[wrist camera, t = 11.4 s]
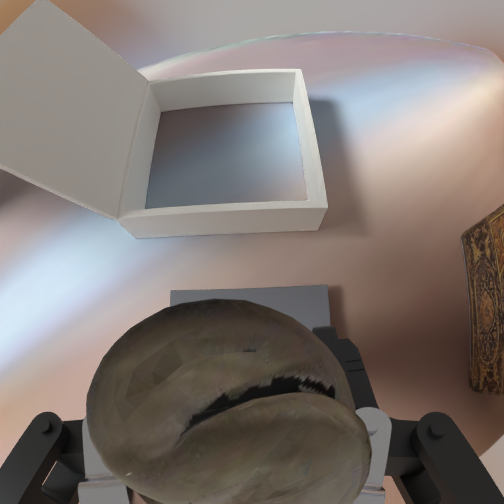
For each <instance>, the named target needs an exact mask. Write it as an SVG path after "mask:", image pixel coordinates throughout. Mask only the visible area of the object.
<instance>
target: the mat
mask: <svg viewBox="0 0 504 504" xmlns="http://www.w3.org/2000/svg"><path fill="white" fill-rule="evenodd" d="M214 298H216V299H235V300H247V301H250V302H253V303H256V304H260V305H263V306H266V307H270V308H272V309H274V310H277V311H279V312H281V313H284V314H286V315H289V316H291V317H293V318H294V319H296V320H297V321H298V322H300V323H301V324H302V325H304V326H305V327H306V328H308V329H309V330H311V331H312V329H313V327H323V326H331V325H330V310H329V297H328V285H313V286H294V287H273V288H248V289H217V290H171V296H170V307H171V306H174V305H177V304H181V303H186V302H193V301H200V300H207V299H214Z"/></svg>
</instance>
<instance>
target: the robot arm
mask: <svg viewBox="0 0 504 504" xmlns="http://www.w3.org/2000/svg"><path fill="white" fill-rule="evenodd" d="M312 332H313V333H314V334H315V335H316V336H317V337H318V338H319V339H320V340H321V341H322V342H323V343H324V344H325V345H326V346H327V347H328V348H329V349H330V351H331V352H332V353H333V354H334V356H335V357H336V359H337V360H338V362H339V363H340V365H341V367H342V369H343V370H344V372H345V375H346V378H347V381H348V384H349V388H350V391H351V394H352V397H353V401H354V404H355V407H356V414H357V415H358V416H359V417H360V418H361V419H362V420H363V422H364V423H365V425H366V428H367V431H368V434H369V437H370V442H371V447H372V459H371V465H370V472H369V476H368V478H367V480H366V482H365V485H364V487H363V489H362V491H361V492H360V494H359V496H358V498H357V499H356V500H355V501H354V502H353V503H352V504H384V502H385V489H384V488H383V479H384V475H386V476H392V478H393V480H394V482H395V484H396V486H397V488H398V490H399V491H400V493H401V495H402V497H403V499H404V501H405V503H406V504H504V497H503V495H502V494H501V492H500V490H499V489H498V487H497V486H496V484H495V482H494V481H493V479H492V478H491V476H490V475H489V473H488V471H487V470H486V468H485V467H484V465H483V464H482V462H481V461H480V459H479V458H478V456H477V455H476V453H475V452H474V450H473V449H472V447H471V446H470V444H469V443H468V441H467V440H466V438H465V437H464V435H463V434H462V433H461V431H460V430H459V428H458V427H457V425H456V424H455V423H454V421H453V420H452V419H451V418H450V417H449V416H448V415H446V414H444V413H441V412H431V413H428V414H426V415H424V416H423V417H422V418H421V419H420V421H407V420H396V419H393V418H390V417H388V416H387V414H386V413H384V412H383V411H381V410H380V409H379V407H378V405H377V403H376V400H375V397H374V394H373V391H372V388H371V385H370V382H369V379H368V376H367V373H366V371H365V368H364V365H363V362H362V361H361V360H362V359H361V356H360V353H359V351H358V348H357V347H356V346H355V345H354V344H353V343H352V342H351V341H350V340H349V339H338V336H337V333H336V330H335V327H334V326H323V327H313V329H312ZM56 461H57V463H56V464H55V462H56ZM54 464H55V466H54V468H53V469H52V467H53V465H54ZM51 469H52V471H51V473H50V474H49V472H50V470H51ZM48 474H49V476H48V478H47V479H46V477H47V475H48ZM45 479H46V481H45V483H44V484H43V482H44V480H45ZM42 484H43V485H42ZM78 503H80V504H147V503H146V502H145V501H144V500H143V499H142V498H141V497H140V496H139V494H138V493H137V492H136V491H134V490H133V489H131V488H129V487H128V486H126V485H125V484H123V483H121V482H120V481H118V480H117V479H116V478H115V477H114V476H113V474H112V473H111V472H110V471H109V470H108V469H107V468H106V467H105V466H104V464H103V462H102V461H101V459H100V457H99V455H98V453H97V451H96V449H95V447H94V445H93V443H92V441H91V439H90V435H89V430H88V426H87V415H86V417H85V418H84V419H82V420H73V421H62V420H61V419H60V418H59V417H58V415H56V414H55V413H52V412H43V413H41V414H39V415H37V416H36V417H35V418H34V419H33V420H32V422H31V423H30V425H29V426H28V428H27V429H26V430H25V432H24V433H23V435H22V436H21V438H20V439H19V441H18V442H17V444H16V445H15V447H14V448H13V450H12V451H11V453H10V454H9V456H8V457H7V459H6V460H5V462H4V463H3V465H2V466H1V468H0V504H78Z"/></svg>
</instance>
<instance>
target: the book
mask: <svg viewBox="0 0 504 504" xmlns="http://www.w3.org/2000/svg"><path fill="white" fill-rule="evenodd" d="M461 243H462V249H463V256H464V263H465V271H466V280H467V290H468V302H469V320H470V387H471V389H472V390H473V391H475V392H479V393H483V394H491V395H502V396H504V204H503V205H502V206H500V207H499V208H498V209H496V210H495V211H494V212H492V213H491V214H489V215H488V216H487V217H485V218H484V219H482V220H481V221H480V222H478V223H477V224H475V225H474V226H473V227H471V228H470V229H468V230H467V231H465V232H464V233H463V235H462V236H461Z"/></svg>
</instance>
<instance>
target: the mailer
mask: <svg viewBox="0 0 504 504" xmlns="http://www.w3.org/2000/svg"><path fill="white" fill-rule="evenodd" d="M278 102H293V107H294V112H295V118H296V124H297V131H298V137H299V143H300V150H301V157H302V164H303V171H304V178H305V186H306V194H307V200H303V201H268V202H244V203H224V204H207V205H192V206H177V207H164V208H152V209H145V205H146V198H147V190H148V183H149V176H150V170H151V163H152V157H153V151H154V146H155V140H156V135H157V130H158V125H159V120H160V115H161V112H164V111H171V110H179V109H187V108H195V107H205V106H216V105H229V104H246V103H278ZM0 169H2V170H4V171H6V172H9V173H11V174H13V175H15V176H17V177H19V178H21V179H23V180H26V181H28V182H30V183H32V184H34V185H36V186H38V187H41V188H43V189H45V190H47V191H49V192H51V193H54V194H56V195H58V196H60V197H62V198H65V199H67V200H69V201H71V202H73V203H76V204H78V205H80V206H82V207H84V208H87V209H89V210H91V211H93V212H96V213H98V214H100V215H102V216H105V217H107V218H109V219H112V220H113V219H115V220H116V221H117V222H118V223H119V224H121V225H122V226H123V227H124V228H125V229H126V230H127V231H128V232H129V233H130V234H131V235H132V236H133V237H134V238H136V239H142V238H159V237H178V236H197V235H218V234H240V233H264V232H290V231H318V229H319V227H320V224H321V222H322V220H323V218H324V216H325V213H326V211H327V209H328V203H327V196H326V190H325V184H324V178H323V172H322V166H321V160H320V155H319V150H318V144H317V139H316V134H315V129H314V124H313V119H312V115H311V110H310V106H309V101H308V97H307V92H306V88H305V84H304V80H303V76H302V72H301V69H252V70H233V71H220V72H209V73H200V74H192V75H184V76H177V77H171V78H165V79H159V80H153V81H148V80H147V79H146V78H145V77H144V76H142V75H141V74H140V73H139V72H138V71H137V70H135V69H134V68H133V67H132V66H131V65H130V64H128V63H127V62H126V61H125V60H124V59H122V58H121V57H120V56H119V55H118V54H116V53H115V52H114V51H113V50H112V49H110V48H109V47H108V46H107V45H106V44H104V43H103V42H102V41H100V40H99V39H98V38H97V37H96V36H94V35H93V34H92V33H91V32H89V31H88V30H87V29H86V28H84V27H83V26H82V25H80V24H79V23H78V22H76V21H75V20H74V19H73V18H71V17H70V16H69V15H67V14H66V13H65V12H63V11H62V10H61V9H59V8H58V7H57V6H55V5H54V4H53V3H51V2H50V1H48V0H36V1H35V2H34V3H33V4H32V5H31V6H29V7H28V8H27V9H26V10H25V11H24V12H23V13H22V14H21V15H20V16H19V17H18V18H17V19H16V20H15V21H14V22H13V23H12V24H11V25H10V26H9V27H8V29H6V31H5V32H4V33H3V34H2V35H1V36H0Z"/></svg>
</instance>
